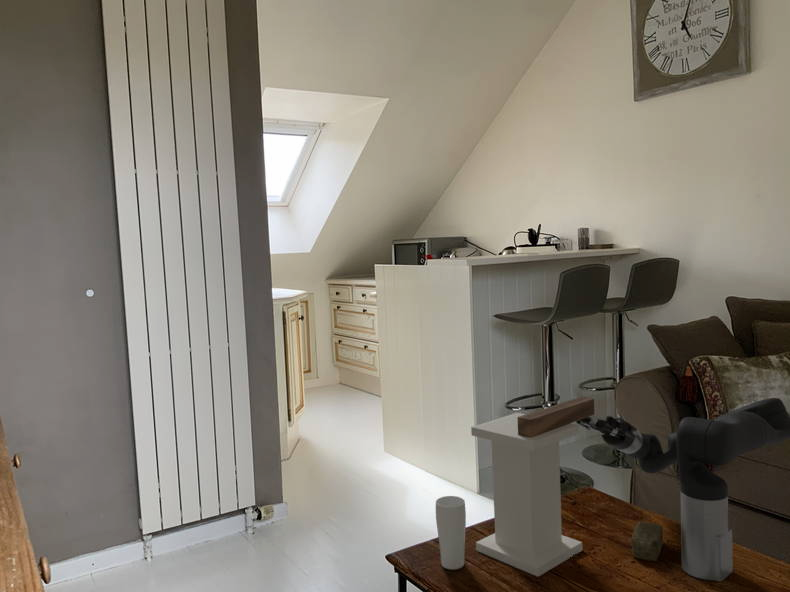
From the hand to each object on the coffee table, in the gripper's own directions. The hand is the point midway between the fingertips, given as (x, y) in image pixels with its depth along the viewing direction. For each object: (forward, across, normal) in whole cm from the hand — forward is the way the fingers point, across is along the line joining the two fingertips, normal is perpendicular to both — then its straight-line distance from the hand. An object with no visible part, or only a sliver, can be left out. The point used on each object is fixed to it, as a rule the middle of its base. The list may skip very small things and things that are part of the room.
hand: (591, 416), depth 163 cm
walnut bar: (+14, -1, -6) cm, 15 cm away
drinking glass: (+19, +13, -44) cm, 50 cm away
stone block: (-12, -15, -26) cm, 33 cm away
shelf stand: (+4, +4, -35) cm, 36 cm away
